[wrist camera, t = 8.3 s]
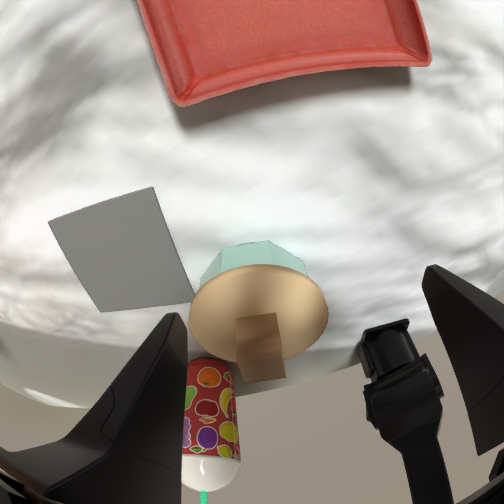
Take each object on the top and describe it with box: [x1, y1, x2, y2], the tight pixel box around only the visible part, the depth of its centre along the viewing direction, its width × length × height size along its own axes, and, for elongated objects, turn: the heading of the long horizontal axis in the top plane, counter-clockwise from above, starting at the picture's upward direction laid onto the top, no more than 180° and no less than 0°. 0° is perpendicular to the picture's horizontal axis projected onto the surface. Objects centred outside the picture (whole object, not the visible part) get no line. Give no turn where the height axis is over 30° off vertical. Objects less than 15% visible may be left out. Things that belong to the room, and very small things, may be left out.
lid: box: [189, 264, 328, 383], centre depth 20 cm, size 11×11×5 cm
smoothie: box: [181, 358, 242, 504], centre depth 26 cm, size 8×8×20 cm
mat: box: [48, 187, 195, 312], centre depth 23 cm, size 12×12×1 cm
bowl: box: [199, 240, 309, 289], centre depth 23 cm, size 9×9×4 cm
